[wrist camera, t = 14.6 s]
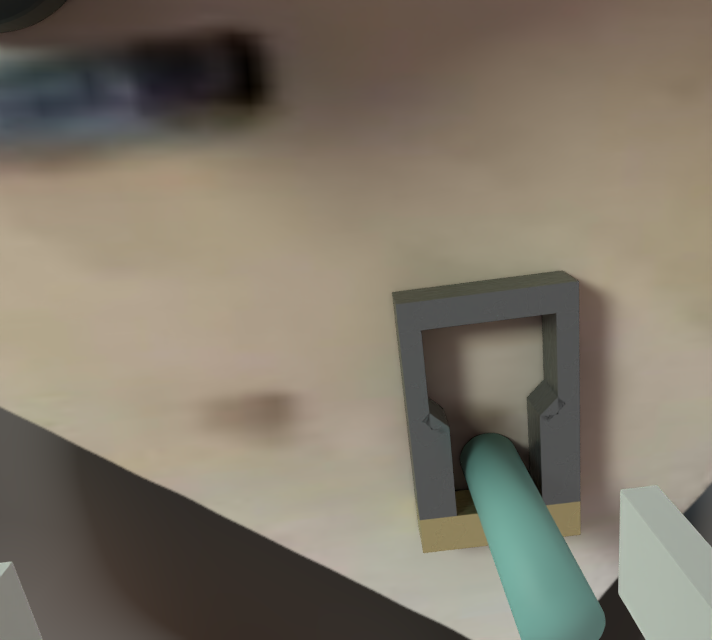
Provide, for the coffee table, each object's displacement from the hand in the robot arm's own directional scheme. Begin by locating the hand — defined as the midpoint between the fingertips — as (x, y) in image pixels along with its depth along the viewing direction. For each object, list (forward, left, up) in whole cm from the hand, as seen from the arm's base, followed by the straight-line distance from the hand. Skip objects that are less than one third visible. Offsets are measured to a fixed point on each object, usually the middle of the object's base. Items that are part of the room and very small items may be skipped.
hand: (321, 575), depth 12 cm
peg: (+16, +10, -29) cm, 34 cm away
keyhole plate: (+12, +10, -29) cm, 33 cm away
